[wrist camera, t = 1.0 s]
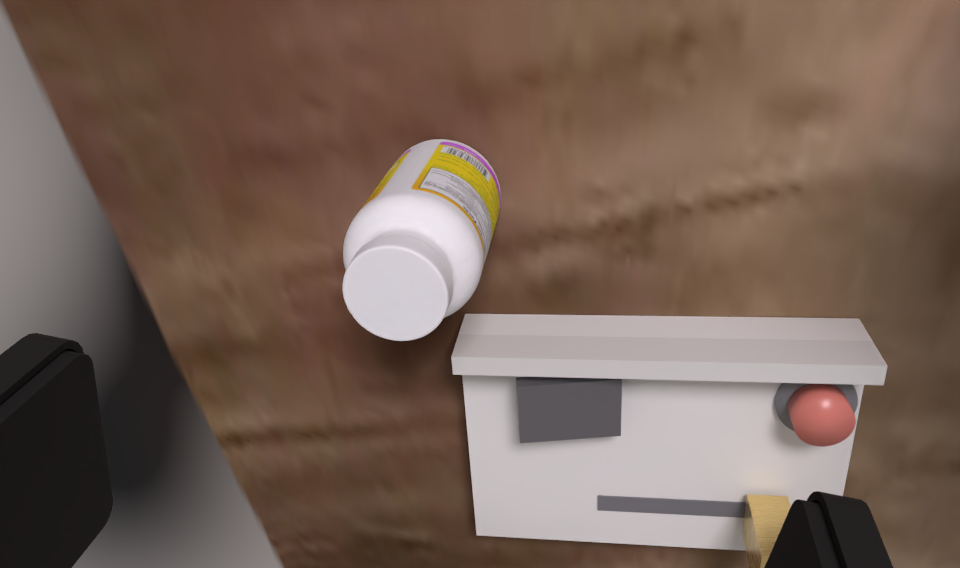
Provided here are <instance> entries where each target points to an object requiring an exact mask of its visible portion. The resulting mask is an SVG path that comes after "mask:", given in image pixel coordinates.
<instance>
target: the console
mask: <svg viewBox="0 0 960 568" xmlns="http://www.w3.org/2000/svg"><path fill="white" fill-rule="evenodd" d="M451 360H452V370H453V375H462V378H463V389H464V401H465V412H466V423H467V434H468V445H469V456H470V468H471V479H472V490H473V501H474V512H475V523H476V535H479V536H497V537H514V538H532V539H549V540H567V541H584V542H602V543H619V544H637V545H654V546H672V547H689V548H707V549H724V550H742V551H746V548H745V543H744V538H743V534H742V532H743V523H744V515H745V507H746V498H747V494H749V495H771V496H788V499H789V502H790V505H791V506H792V504H793V502H794V501H795V500H798V499H800V500H805V501H807V499H808V497H809V496H810V495H811V494H812V493H813V492H815V491H819V492H824V493H829V494H834V495H839V496H843V493H844V487H845V482H846V477H847V472H848V467H849V461H850V456H851V451H852V446H853V440H854V435H855V430H856V425H857V420H858V414H859V409H860V404H861V399H862V394H863V388H864V385H884V381H885V376H886V371H887V364H886V362H885V361H884V359H883V357H882V356H881V354H880V352H879V351H878V349H877V347H876V346H875V344H874V342H873V341H872V339H871V337H870V336H869V334H868V333H867V331H866V329H865V328H864V326H863V324H862V323H861V321H860V319H859V318H780V317H696V316H612V315H528V314H465V316H464V319H463V322H462V325H461V328H460V331H459V334H458V338H457V341H456V344H455V347H454V350H453V353H452V356H451ZM516 377H567V378H608V379H622V407H621V436H613V437H599V438H586V439H572V440H558V441H545V442H531V443H520V440H519V431H518V412H517V393H516ZM808 384H832V385H834V386H836V387H838V388H839V389H841V390H842V391H843V392H844V394H845V396H846V398H847V400H848V402H849V404H850V406H851V408H852V410H853V412H854V414H855V418H856V424H855V428H854V430H853V432H852V433H851V434H850V436H849V437H847V438H846V439H845V440H843V441H842V442H840V443H838V444H835V445H831V446H825V447H820V446H813V445H810V444H807V443H805V442H803V441H802V440H801V439H800V438H799V437H798V436H797V435H796V433H795V430H794V427H793V425H792V422H791V419H790V416H789V413H788V402H789V399H790V398H791V396H792V395H793V394H794V393H795V392H796V391H797V390H798V389H800V388H801V387H803V386H805V385H808Z"/></svg>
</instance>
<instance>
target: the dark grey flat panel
mask: <svg viewBox="0 0 960 568" xmlns="http://www.w3.org/2000/svg"><path fill="white" fill-rule="evenodd" d="M516 393H517V412H518V431H519V440H520V443H531V442H545V441H558V440H572V439H586V438H599V437H613V436H621V407H622V379H608V378H567V377H516Z"/></svg>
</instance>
